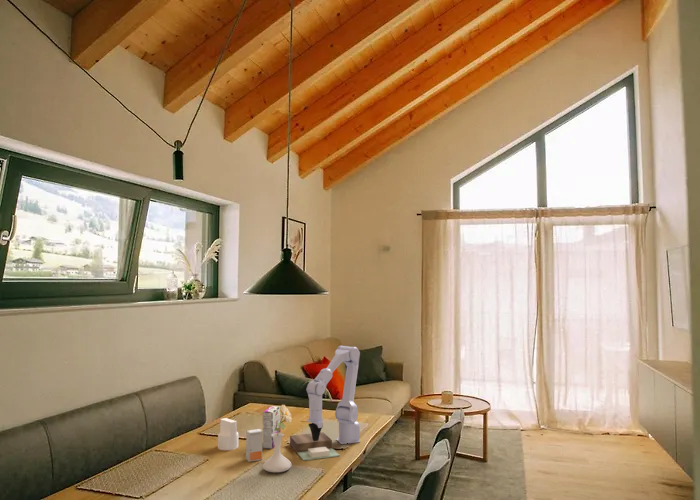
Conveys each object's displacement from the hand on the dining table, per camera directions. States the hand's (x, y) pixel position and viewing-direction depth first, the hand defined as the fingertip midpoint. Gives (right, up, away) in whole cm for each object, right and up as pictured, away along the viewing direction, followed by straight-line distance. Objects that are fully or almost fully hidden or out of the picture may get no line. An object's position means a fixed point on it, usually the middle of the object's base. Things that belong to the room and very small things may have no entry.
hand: (315, 440), depth 233 cm
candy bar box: (-21, -6, +10) cm, 24 cm away
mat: (+1, -5, -4) cm, 6 cm away
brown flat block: (-3, -5, +7) cm, 9 cm away
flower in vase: (-13, -4, -22) cm, 26 cm away
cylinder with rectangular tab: (-40, -6, +7) cm, 41 cm away
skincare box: (-25, -5, -10) cm, 27 cm away
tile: (+2, -2, -5) cm, 6 cm away
